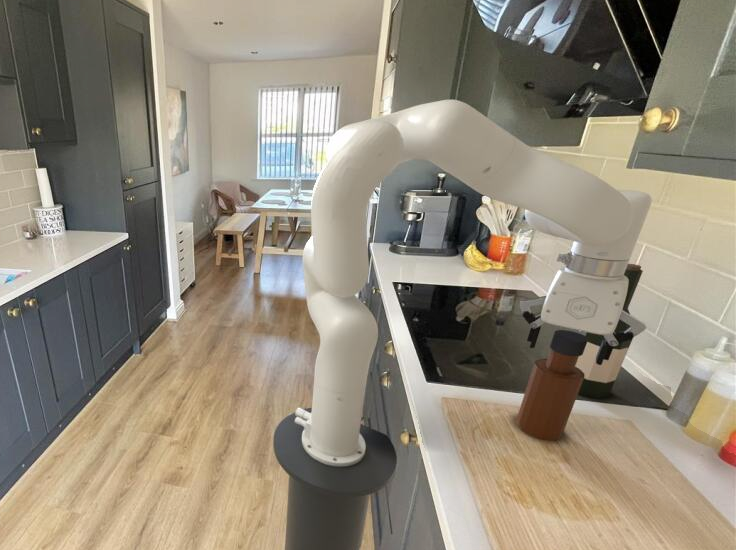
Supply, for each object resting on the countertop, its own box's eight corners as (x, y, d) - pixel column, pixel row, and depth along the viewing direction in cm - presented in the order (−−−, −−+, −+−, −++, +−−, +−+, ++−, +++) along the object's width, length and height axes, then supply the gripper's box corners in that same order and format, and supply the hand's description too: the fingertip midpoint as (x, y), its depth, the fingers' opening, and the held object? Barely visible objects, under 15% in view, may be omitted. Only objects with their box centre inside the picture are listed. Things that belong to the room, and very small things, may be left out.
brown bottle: (513, 429, 80) (539, 351, 73) (518, 411, 85) (542, 337, 78) (560, 446, 76) (591, 364, 69) (562, 426, 81) (591, 348, 74)
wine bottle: (558, 387, 93) (602, 265, 82) (566, 374, 98) (608, 257, 87) (605, 403, 87) (660, 274, 76) (611, 388, 92) (663, 265, 81)
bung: (544, 362, 74) (553, 336, 72) (546, 352, 78) (555, 327, 76) (577, 371, 71) (588, 344, 69) (578, 360, 75) (588, 334, 73)
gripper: (530, 261, 70) (505, 346, 76) (671, 281, 59) (629, 378, 66) (535, 252, 75) (511, 333, 82) (665, 269, 65) (626, 360, 71)
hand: (564, 353), depth 74 cm, fingers open, 9 cm apart
